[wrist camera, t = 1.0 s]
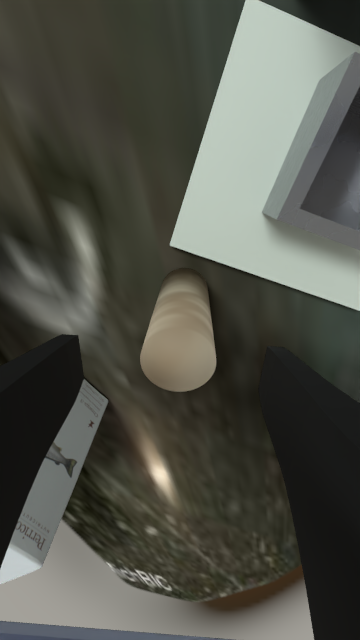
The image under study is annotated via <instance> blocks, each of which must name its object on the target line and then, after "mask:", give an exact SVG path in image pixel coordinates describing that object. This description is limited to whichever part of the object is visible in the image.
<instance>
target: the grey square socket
mask: <svg viewBox="0 0 360 640" xmlns="http://www.w3.org/2000/svg"><path fill="white" fill-rule="evenodd" d="M262 213H264V214H266V215H268V216H270V217H272V218H274V219H276V220H279V221H282V222H285V223H287V224H290V225H293V226H295V227H298V228H301V229H303V230H306V231H309V232H312V233H314V234H317V235H320V236H322V237H325V238H328V239H331V240H333V241H336V242H339V243H341V244H344V245H347V246H350V247H352V248H355V249H358V250H360V54H359V53H357V52H354V53H353V54H351V55H350V56H349V57H348V58H346V59H345V60H344V61H342V62H341V63H340V64H339V65H337V66H336V67H335V68H334V69H332V70H331V71H330V72H329V73H327V74H326V75H325V76H324V77H322V78H321V79H320V80H319V82H318V84H317V87H316V89H315V91H314V93H313V96H312V98H311V100H310V103H309V105H308V107H307V110H306V112H305V114H304V116H303V119H302V121H301V123H300V126H299V128H298V130H297V132H296V135H295V137H294V139H293V142H292V144H291V146H290V148H289V151H288V153H287V155H286V158H285V160H284V162H283V164H282V167H281V169H280V171H279V174H278V176H277V178H276V181H275V183H274V185H273V187H272V190H271V192H270V194H269V197H268V199H267V201H266V203H265V206H264V208H263V210H262Z"/></svg>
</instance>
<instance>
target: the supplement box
mask: <svg viewBox="0 0 360 640" xmlns="http://www.w3.org/2000/svg"><path fill="white" fill-rule="evenodd" d="M107 404H108V399H106V398H105V397H104V396H103V395H102V394H100V393H99V392H98V391H97V390H96V389H95V388H94V387H92V386H91V385H90V384H89V383H88V382H87V381H86V380H85V379H84V380H83V383H82V386H81V388H80V391H79V394H78V396H77V399H76V401H75V403H74V405H73V407H72V409H71V411H70V413H69V414H68V416H67V418H66V420H65V422H64V424H63V425H62V427H61V429H60V431H59V433H58V434H57V436H56V438H55V440H54V442H53V444H52V445H51V447H50V449H49V451H48V453H47V455H46V457H45V459H44V461H43V463H42V465H41V467H40V469H39V471H38V474H37V476H36V478H35V481H34V483H33V485H32V488H31V490H30V492H29V495H28V497H27V500H26V502H25V505H24V507H23V510H22V512H21V515H20V517H19V520H18V522H17V525H16V527H15V530H14V533H13V536H12V538H11V541H10V544H9V546H8V549H7V552H6V555H5V557H4V560H3V563H2V565H1V568H0V584H3V583H5V582H8V581H10V580H13V579H15V578H18V577H20V576H23V575H25V574H29V573H31V572H33V571H35V570H37V569H39V568H41V567H42V565H43V563H44V560H45V558H46V556H47V553H48V550H49V548H50V545H51V543H52V541H53V538H54V535H55V533H56V530H57V528H58V526H59V523H60V521H61V518H62V516H63V513H64V511H65V508H66V506H67V503H68V501H69V498H70V496H71V494H72V491H73V488H74V486H75V484H76V481H77V479H78V476H79V474H80V471H81V468H82V466H83V463H84V461H85V458H86V456H87V454H88V451H89V448H90V446H91V443H92V441H93V438H94V436H95V434H96V431H97V429H98V426H99V424H100V421H101V419H102V416H103V413H104V411H105V409H106V406H107Z"/></svg>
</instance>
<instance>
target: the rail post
mask: <svg viewBox="0 0 360 640" xmlns="http://www.w3.org/2000/svg"><path fill="white" fill-rule="evenodd" d="M140 363H141V367H142V370H143V372H144V374H145V375H146V376H147V378H148V379H149V380H150V381H151V382H153V383H154V384H155V385H157V386H159V387H161V388H163V389H166V390H169V391H176V392H183V391H190V390H193V389H196V388H198V387H200V386H202V385H203V384H205V383H206V382H207V381H208V380H209V379H210V378H211V376H212V375H213V373H214V371H215V368H216V352H215V344H214V336H213V328H212V320H211V312H210V303H209V295H208V287H207V283H206V281H205V279H204V278H203V276H202V275H201V274H200V273H198V272H197V271H195V270H193V269H189V268H179V269H176V270H174V271H172V272H170V273H169V274H168V275H167V276H166V277H165V279H164V280H163V283H162V286H161V289H160V292H159V296H158V299H157V302H156V305H155V309H154V312H153V315H152V318H151V322H150V325H149V328H148V331H147V335H146V338H145V341H144V344H143V348H142V351H141V355H140Z"/></svg>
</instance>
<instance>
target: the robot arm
mask: <svg viewBox="0 0 360 640" xmlns="http://www.w3.org/2000/svg"><path fill="white" fill-rule="evenodd" d="M83 380H84V375H83V367H82V360H81V353H80V346H79V339H78V335H63V334H62V335H60V336H58V337H55V338H53V339H51V340H49V341H47V342H46V343H44V344H42V345H40V346H38V347H36V348H34V349H33V350H31V351H29V352H27V353H25V354H23V355H21V356H19V357H18V358H16V359H14V360H12V361H10V362H8V363H6V364H4V365H2V366H0V568H1V565H2V563H3V560H4V557H5V555H6V552H7V549H8V546H9V544H10V541H11V538H12V536H13V533H14V530H15V527H16V525H17V522H18V520H19V517H20V515H21V512H22V510H23V507H24V505H25V502H26V500H27V497H28V495H29V492H30V490H31V488H32V485H33V483H34V481H35V478H36V476H37V474H38V471H39V469H40V467H41V465H42V463H43V461H44V459H45V457H46V455H47V453H48V451H49V449H50V447H51V445H52V444H53V442H54V440H55V438H56V436H57V434H58V433H59V431H60V429H61V427H62V425H63V424H64V422H65V420H66V418H67V416H68V414H69V413H70V411H71V409H72V407H73V405H74V403H75V401H76V399H77V396H78V394H79V391H80V388H81V386H82V383H83ZM258 390H259V396H260V402H261V407H262V412H263V415H264V419H265V422H266V425H267V428H268V431H269V434H270V437H271V440H272V443H273V446H274V449H275V452H276V455H277V458H278V461H279V464H280V467H281V471H282V474H283V478H284V481H285V485H286V490H287V494H288V499H289V503H290V508H291V512H292V517H293V522H294V527H295V532H296V537H297V541H298V546H299V552H300V557H301V563H302V568H303V573H304V579H305V584H306V590H307V597H308V602H309V609H310V615H311V621H312V628H313V634H314V640H360V403H358V402H357V401H355V400H354V399H352V398H351V397H349V396H348V395H346V394H345V393H344V392H342V391H341V390H339V389H338V388H336V387H335V386H334V385H332V384H331V383H330V382H328V381H327V380H326V379H324V378H323V377H322V376H320V375H319V374H318V373H316V372H315V371H314V370H313V369H311V368H310V367H309V366H308V365H306V364H305V363H304V362H303V361H301V360H300V359H299V358H298V357H296V356H295V355H294V354H292V353H291V352H290V351H288V350H287V349H286V348H284V347H271V346H267V350H266V355H265V360H264V365H263V369H262V374H261V379H260V384H259V388H258ZM0 640H232V639H220V638H207V637H194V636H183V635H169V634H157V633H145V632H133V631H119V630H108V629H95V628H83V627H82V628H81V627H70V626H56V625H44V624H32V623H20V622H6V621H0Z"/></svg>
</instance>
